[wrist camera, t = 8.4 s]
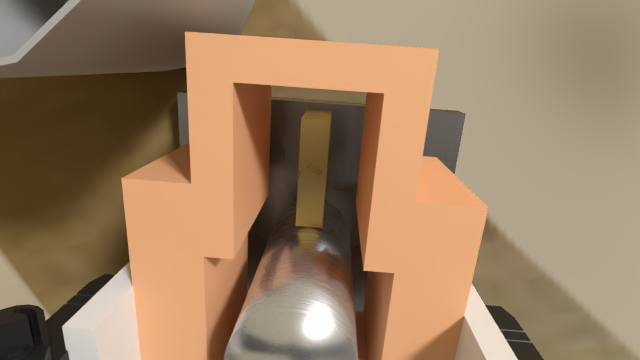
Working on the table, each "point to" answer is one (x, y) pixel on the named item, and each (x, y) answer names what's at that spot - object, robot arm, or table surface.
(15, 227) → the table surface
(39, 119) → the table surface
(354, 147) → the post base
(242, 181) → the orange bottle-shaped mold
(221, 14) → the cup
